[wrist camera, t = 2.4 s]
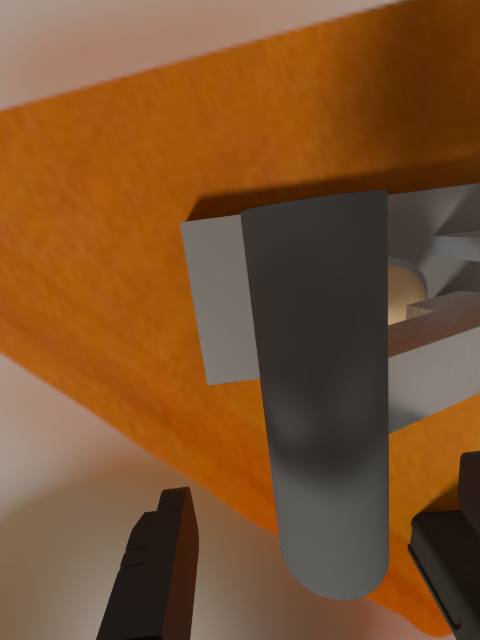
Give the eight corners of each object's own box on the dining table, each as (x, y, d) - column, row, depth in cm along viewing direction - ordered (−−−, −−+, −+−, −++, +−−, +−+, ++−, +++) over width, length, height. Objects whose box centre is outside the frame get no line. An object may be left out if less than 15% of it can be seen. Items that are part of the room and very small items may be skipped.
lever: (554, 178, 14) (694, 157, 11) (529, 383, 17) (634, 417, 14) (214, 218, 9) (285, 199, 5) (256, 514, 11) (321, 625, 8)
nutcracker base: (491, 182, 21) (799, 125, 10) (479, 339, 24) (704, 437, 13) (184, 223, 22) (129, 214, 10) (209, 373, 24) (188, 500, 13)
